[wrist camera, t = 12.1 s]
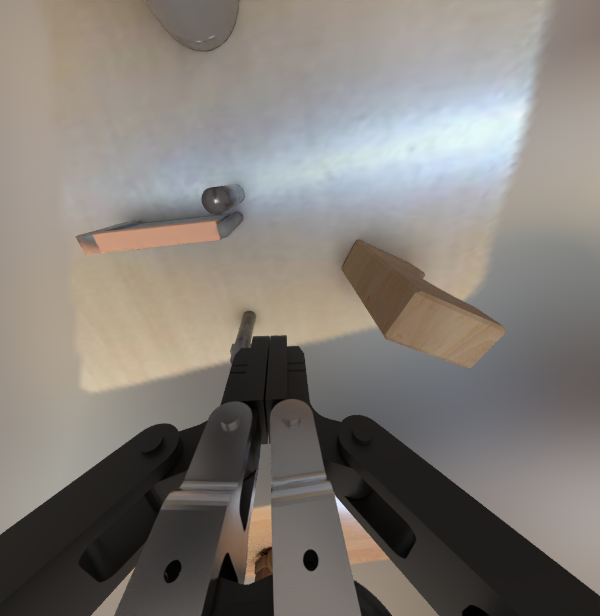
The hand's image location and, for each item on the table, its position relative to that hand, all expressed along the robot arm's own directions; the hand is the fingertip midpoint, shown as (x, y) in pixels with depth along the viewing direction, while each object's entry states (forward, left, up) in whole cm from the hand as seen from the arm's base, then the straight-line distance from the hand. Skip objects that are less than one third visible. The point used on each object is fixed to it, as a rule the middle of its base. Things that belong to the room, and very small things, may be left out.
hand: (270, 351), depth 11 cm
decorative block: (+6, +16, -29) cm, 34 cm away
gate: (-1, -13, -28) cm, 31 cm away
